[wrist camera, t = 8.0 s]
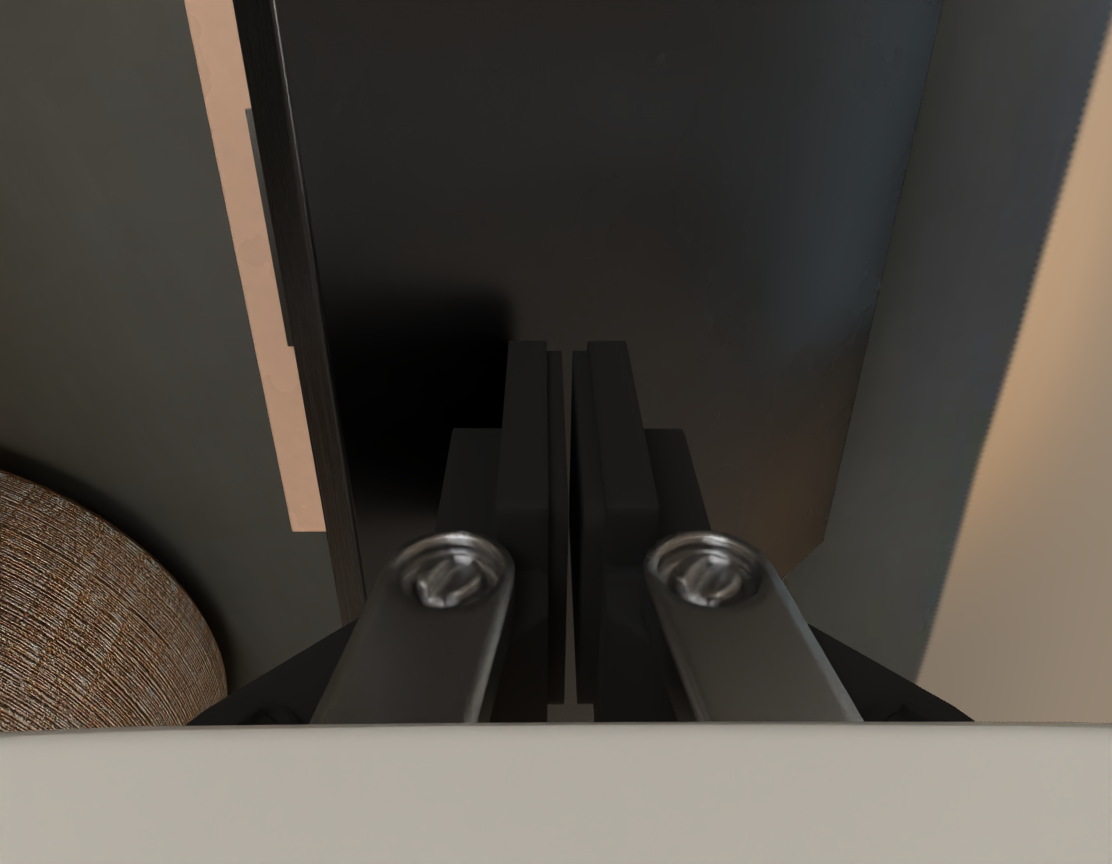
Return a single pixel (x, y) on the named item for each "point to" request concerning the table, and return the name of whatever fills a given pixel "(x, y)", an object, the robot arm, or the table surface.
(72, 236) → the table surface
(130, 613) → the planter
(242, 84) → the laptop
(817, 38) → the laptop screen
